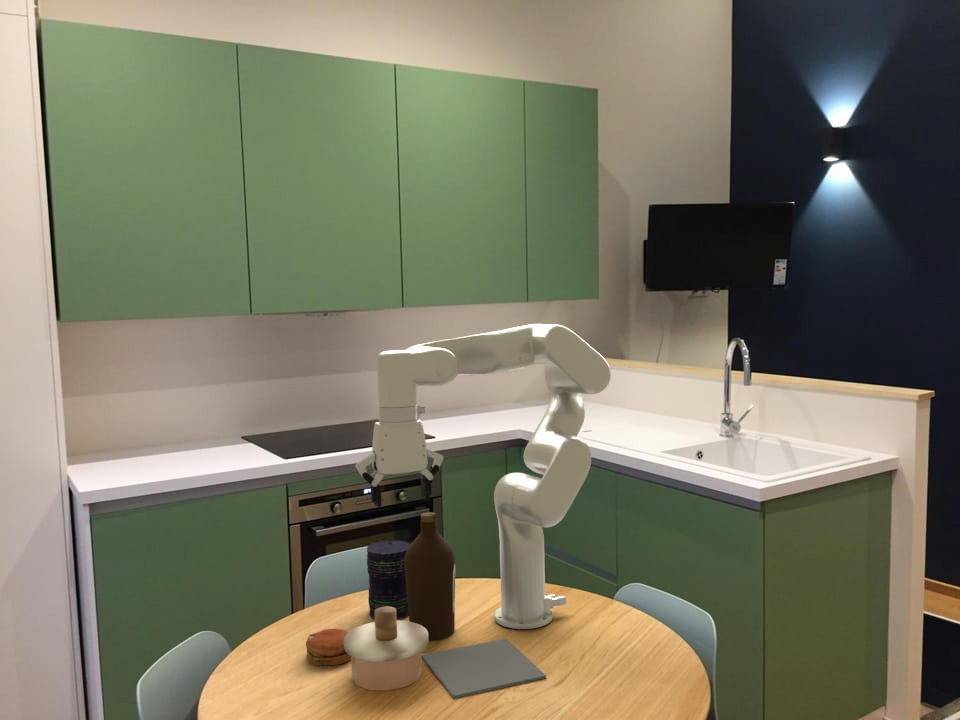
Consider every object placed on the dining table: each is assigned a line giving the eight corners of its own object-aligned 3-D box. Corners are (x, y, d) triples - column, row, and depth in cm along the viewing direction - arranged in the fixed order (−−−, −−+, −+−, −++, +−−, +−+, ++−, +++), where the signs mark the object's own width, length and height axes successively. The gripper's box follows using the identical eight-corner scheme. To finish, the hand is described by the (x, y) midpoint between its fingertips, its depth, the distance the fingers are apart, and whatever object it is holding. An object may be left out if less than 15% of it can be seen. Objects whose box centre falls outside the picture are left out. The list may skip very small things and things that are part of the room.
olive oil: (414, 645, 168) (410, 523, 166) (401, 626, 178) (397, 511, 176) (464, 636, 172) (461, 517, 170) (448, 618, 182) (445, 505, 180)
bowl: (409, 654, 164) (408, 624, 163) (430, 681, 152) (429, 649, 152) (346, 666, 159) (345, 636, 159) (362, 695, 148) (361, 663, 147)
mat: (506, 640, 169) (506, 638, 169) (546, 678, 152) (546, 675, 152) (421, 657, 162) (421, 655, 162) (453, 698, 146) (453, 695, 146)
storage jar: (411, 620, 181) (408, 553, 180) (365, 621, 181) (363, 554, 180) (415, 603, 191) (413, 539, 190) (372, 604, 191) (369, 540, 190)
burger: (358, 663, 161) (357, 639, 161) (309, 671, 158) (308, 647, 158) (349, 643, 170) (348, 621, 170) (303, 651, 168) (302, 628, 167)
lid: (413, 620, 165) (412, 590, 165) (440, 651, 151) (439, 618, 150) (335, 634, 160) (334, 603, 159) (355, 668, 145) (354, 633, 145)
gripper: (434, 408, 167) (437, 493, 169) (349, 415, 161) (353, 503, 162) (447, 413, 160) (450, 501, 162) (359, 421, 154) (362, 512, 155)
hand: (401, 502), depth 162 cm, fingers open, 9 cm apart
